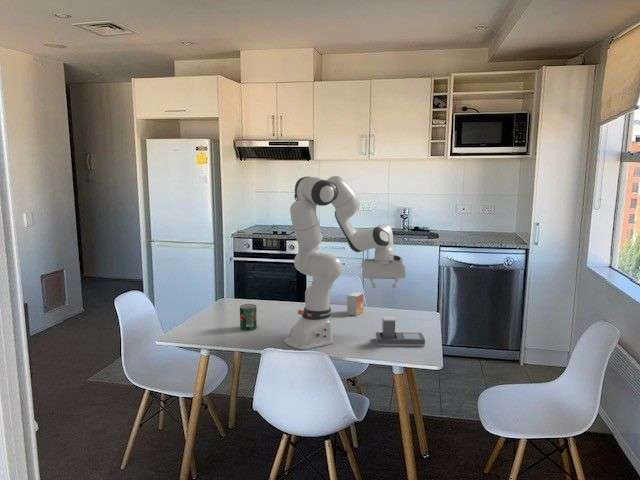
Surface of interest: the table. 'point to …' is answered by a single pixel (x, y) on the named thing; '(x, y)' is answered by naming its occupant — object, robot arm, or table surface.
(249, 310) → the canned tomato
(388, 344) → the gray rectangular base
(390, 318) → the plug
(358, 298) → the small box
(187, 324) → the table surface
